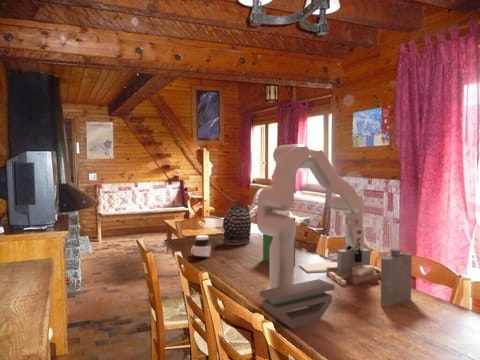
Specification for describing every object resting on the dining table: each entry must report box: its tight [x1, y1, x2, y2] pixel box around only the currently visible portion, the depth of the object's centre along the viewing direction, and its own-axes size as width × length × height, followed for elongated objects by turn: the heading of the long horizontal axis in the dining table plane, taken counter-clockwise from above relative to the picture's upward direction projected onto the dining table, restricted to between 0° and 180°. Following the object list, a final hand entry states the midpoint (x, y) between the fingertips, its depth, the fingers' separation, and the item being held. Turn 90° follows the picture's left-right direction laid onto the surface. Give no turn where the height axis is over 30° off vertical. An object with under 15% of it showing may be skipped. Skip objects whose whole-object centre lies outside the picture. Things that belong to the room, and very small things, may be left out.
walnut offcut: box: [347, 272, 379, 286], centre depth 171 cm, size 5×12×4 cm, turn 109°
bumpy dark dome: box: [222, 204, 252, 246], centre depth 250 cm, size 21×15×25 cm
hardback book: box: [262, 216, 296, 266], centre depth 203 cm, size 18×7×24 cm, turn 31°
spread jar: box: [190, 234, 212, 260], centre depth 216 cm, size 12×11×12 cm
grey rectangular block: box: [336, 247, 371, 273], centre depth 180 cm, size 4×14×12 cm, turn 100°
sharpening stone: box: [259, 278, 336, 329], centre depth 131 cm, size 25×8×11 cm, turn 120°
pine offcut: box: [353, 264, 375, 276], centre depth 171 cm, size 4×9×3 cm, turn 124°
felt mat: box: [298, 261, 337, 274], centre depth 193 cm, size 12×22×1 cm, turn 100°
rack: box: [326, 264, 381, 287], centre depth 176 cm, size 17×22×4 cm
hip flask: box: [380, 247, 413, 308], centre depth 147 cm, size 16×4×20 cm, turn 123°
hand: (353, 259), depth 180 cm, fingers open, 8 cm apart
